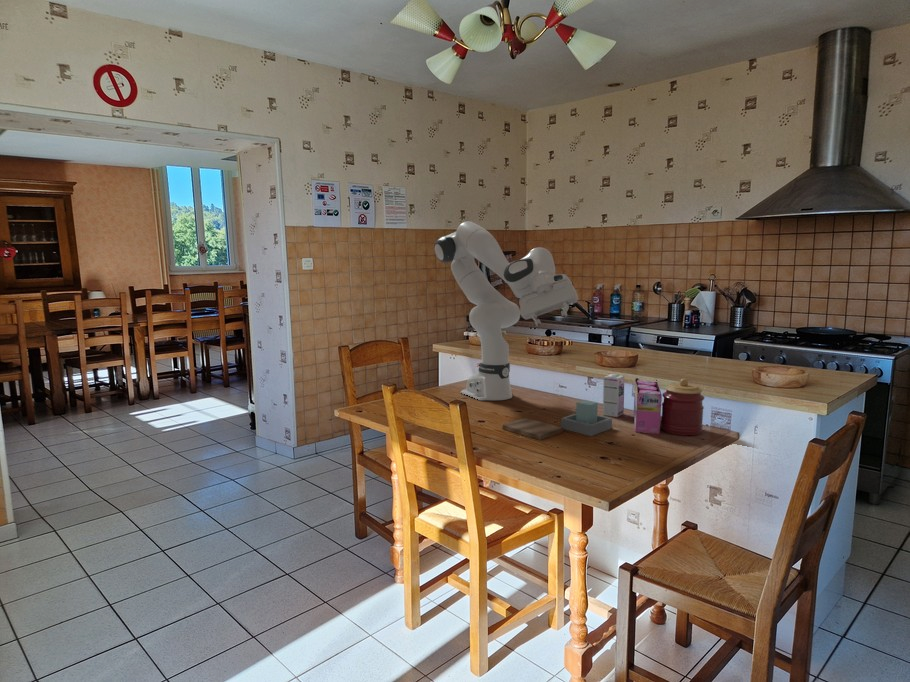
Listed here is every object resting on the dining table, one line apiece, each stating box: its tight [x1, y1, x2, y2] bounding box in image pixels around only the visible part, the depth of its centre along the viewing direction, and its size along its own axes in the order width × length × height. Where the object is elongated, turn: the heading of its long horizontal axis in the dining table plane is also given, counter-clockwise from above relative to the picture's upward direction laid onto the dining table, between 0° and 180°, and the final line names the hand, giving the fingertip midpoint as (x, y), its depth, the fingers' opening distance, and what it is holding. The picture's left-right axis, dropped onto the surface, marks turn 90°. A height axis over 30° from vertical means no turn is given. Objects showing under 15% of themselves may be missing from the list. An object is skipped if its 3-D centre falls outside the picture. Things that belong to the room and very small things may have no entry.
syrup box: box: [602, 373, 625, 418], centre depth 211 cm, size 6×6×14 cm
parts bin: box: [560, 413, 613, 437], centre depth 196 cm, size 12×12×4 cm
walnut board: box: [502, 417, 564, 441], centre depth 194 cm, size 16×12×2 cm
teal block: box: [575, 399, 599, 425], centre depth 196 cm, size 5×5×9 cm
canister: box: [660, 378, 705, 436], centre depth 192 cm, size 13×13×18 cm
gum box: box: [633, 377, 663, 435], centre depth 201 cm, size 24×8×14 cm, turn 165°
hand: (551, 320), depth 195 cm, fingers open, 8 cm apart
